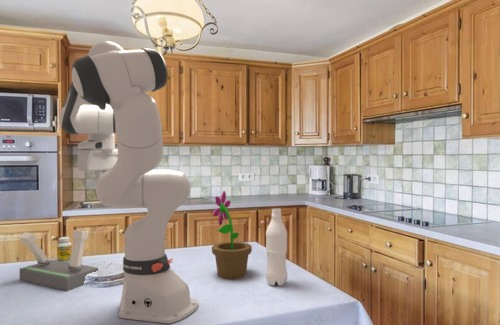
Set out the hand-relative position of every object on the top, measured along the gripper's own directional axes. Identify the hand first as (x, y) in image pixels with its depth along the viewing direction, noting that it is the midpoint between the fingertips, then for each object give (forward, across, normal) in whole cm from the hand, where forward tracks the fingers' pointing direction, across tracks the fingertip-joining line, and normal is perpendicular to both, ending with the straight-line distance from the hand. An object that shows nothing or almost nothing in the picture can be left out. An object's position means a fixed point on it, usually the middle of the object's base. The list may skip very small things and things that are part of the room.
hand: (102, 183), depth 128 cm
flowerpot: (+33, -12, +45) cm, 57 cm away
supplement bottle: (+33, -11, -26) cm, 44 cm away
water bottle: (+33, -7, +62) cm, 71 cm away
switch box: (+33, +8, -12) cm, 36 cm away
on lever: (+28, +6, -19) cm, 35 cm away
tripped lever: (+28, +9, -4) cm, 30 cm away
